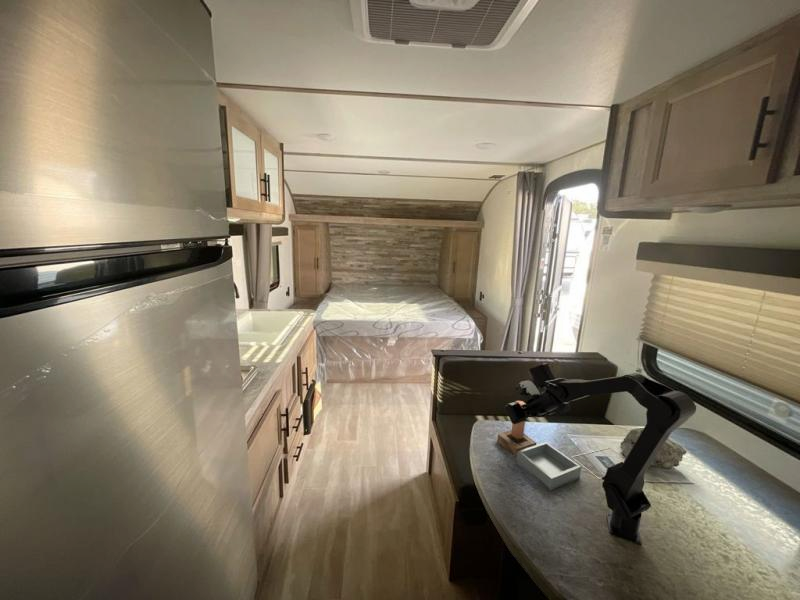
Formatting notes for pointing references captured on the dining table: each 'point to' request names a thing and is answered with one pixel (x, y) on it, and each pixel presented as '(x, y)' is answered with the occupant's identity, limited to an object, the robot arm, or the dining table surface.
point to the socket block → (510, 445)
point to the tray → (548, 465)
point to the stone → (666, 455)
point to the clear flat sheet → (591, 452)
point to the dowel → (518, 426)
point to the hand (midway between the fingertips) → (516, 415)
